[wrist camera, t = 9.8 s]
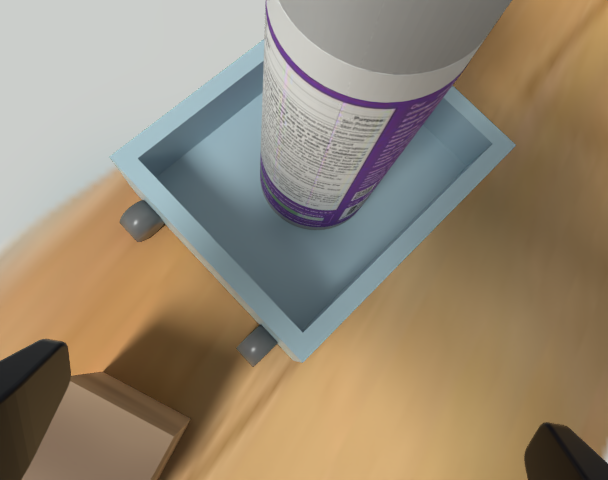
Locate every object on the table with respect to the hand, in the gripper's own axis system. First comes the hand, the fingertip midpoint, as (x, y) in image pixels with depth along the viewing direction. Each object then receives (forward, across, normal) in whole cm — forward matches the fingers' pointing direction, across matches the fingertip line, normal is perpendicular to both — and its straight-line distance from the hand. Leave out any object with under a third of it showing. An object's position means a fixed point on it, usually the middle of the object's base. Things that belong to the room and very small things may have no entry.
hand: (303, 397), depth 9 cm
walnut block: (+5, +6, +10) cm, 13 cm away
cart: (+14, 0, +1) cm, 14 cm away
